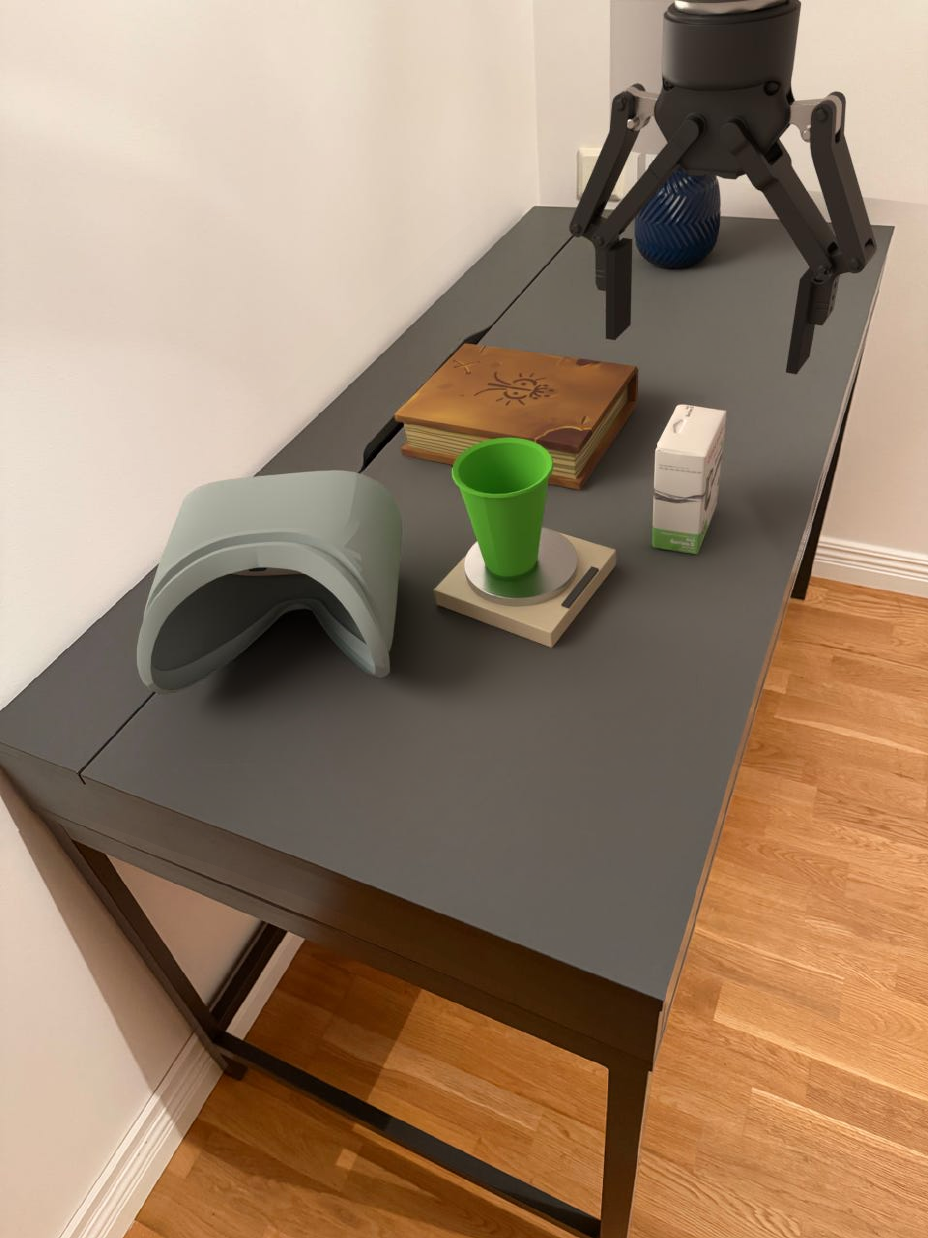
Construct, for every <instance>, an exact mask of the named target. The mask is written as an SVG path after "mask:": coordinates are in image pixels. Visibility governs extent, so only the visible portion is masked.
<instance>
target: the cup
mask: <svg viewBox="0 0 928 1238" xmlns="http://www.w3.org/2000/svg"><path fill="white" fill-rule="evenodd" d="M553 466H554V464H553V459H552V457H551V456H550V454H549V453H548V451H547V450H546V449H545V448H543V447H542V446H541V445H539V444H537V443H535V442H532V441H529V440H525V439H520V438H497V439H492V440H487V441H484V442H481V443H478V444H475V445H474V446H472V447H470V448H468V449H466V450H465V451H464V452H463V453H461V454H460V455H459V457H458V458H457V459H456V460H455V462H454V465H452V467H451V468H452V469H451V477H452V480H453V482H454V483H455V485H456V486H458V488H459V490H460V493H461V496H462V499H463V502H464V506H465V508H466V511H467V514H468V518H469V520H470V524H471V527H472V530H473V532H474V533H473V534H474V535H475V538H476V542H478V545H479V548H480V551H481V554H482V557H483V560H484V562H485V564H486V566H487V567H488V568H489V569H490V570H491V571H492V572H493V573H495V574H497V575H500V576H507V577H509V576H518V575H521V574H524V573H526V572H527V571H529V570H530V569H531V568H532V567H533V566H534V564H535V562H536V561H537V558H538V552H539V545H540V537H541V529H542V527H543V522H544V521H543V520H544V513H545V506H546V499H547V493H548V492H547V491H548V485H549V484H548V478H549V476H550V475H551V473H552V471H553Z"/></svg>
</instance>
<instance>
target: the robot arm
mask: <svg viewBox="0 0 928 1238" xmlns="http://www.w3.org/2000/svg"><path fill="white" fill-rule="evenodd" d="M801 7H802V2H801V1H800V0H675V2H674V3H672V4H671V5H670V6H669V7H668V9H667V11H666V12H665V13H664V17H663V42H662V68H661V73H662V89H661V92H660V94H656V93H650V92H646V91H645V88H644V87H643V86H642V85H641V84H639V83H636V84H634V85H632V86H630V87H629V88H627V89H625V90H624V91H622V92H621V93H619V94H618V95H616V96H615V97H614V99H613V101H612V109H611V119H610V118H609V130H608V134H607V136H606V138H605V140H604V143H603V145H602V147H601V150H600V152H599V155H598V157H597V159H596V161H595V164H594V166H593V169H592V171H591V174H590V176H589V178H588V180H587V183H586V185H585V188H584V189H583V192H582V194H581V196H580V198H579V201H578V204H577V206H576V208H575V211H574V213H573V215H572V217H571V220H570V222H569V225H568V229H569V232H570V234H571V235H572V236H573V237H574V238H581V237H583V238H585V239H586V240H588V241H590V242H591V243H592V245H593V247H594V259H595V260H594V265H595V267H594V268H595V271H594V274H595V278H594V279H595V281H594V282H595V286H596V288H597V291H603V292H605V339H606V340H610V341H616V340H617V339H618V338H619V337H620V336H621V335H623V333H624V332H625V331H627V329H629V327H630V326H631V325H632V287H633V286H632V284H633V283H632V281H633V280H632V279H633V277H632V276H633V238H628V237H622V238H621V239H620V236H621V235H622V234H623V233H624V232H626V229H627V228H628V227H629V226H630V224H631V223H632V222H633V221H634V220H635V217H636V216H637V215H638V214H639V212H640V211H641V210H642V209H643V208H644V207H645V205H646V204H647V203H648V202H649V201H650V200H651V198H652V197H653V196H654V195H655V194H656V193H657V191H658V190H659V189H660V188H661V187H662V186H663V184H664V183H665V182H666V181H667V180H668V179H669V177H670V176H671V175H672V174H673V173H674V172H675V170H676V169H677V168H678V167H679V166H680V165H681V167H682V168H684V169H685V170H686V171H688V172H689V175H690V176H704V175H709V174H714V175H716V176H717V177H719V178H722V179H724V180H735V181H736V180H737V179H738V178H740V177H742V176H745V175H746V177H747V179H748V180H749V181H750V183H751V185H752V186H753V188H754V189H756V191H758V192H759V191H760V192H761V193H762V194H763V196H764V198H765V199H766V201H767V202H768V204H769V206H770V207H771V209H772V210H773V212H774V213H775V215H776V216H777V219H778V220H779V222H780V223H781V225H782V226H783V228H784V229H785V231H786V233H787V234H788V236H789V237H790V239H791V240H792V242H793V243H794V245H795V247H796V249H797V250H798V251H799V253H800V254H801V256H802V258H803V259H804V261H805V262H806V264H807V266H808V268H807V269H806V271H805V272H804V273H803V275H802V276H801V277H800V278H799V282H798V289H797V293H796V294H797V296H796V302H795V308H794V314H793V322H792V327H791V335H790V341H789V348H788V355H787V360H786V366H785V367H786V368H785V374H791V375H798V373H799V372H800V370H802V368H803V367H804V365H805V364H806V362H807V361H808V360H809V358H810V356H811V351H812V346H813V340H814V335H815V334H814V333H815V327H816V325H817V326H823V325H824V324H825V323H826V322H827V320H828V319H829V317H830V316H831V314H833V311H834V309H835V305H836V298H837V292H838V287H839V282H840V276H841V275H842V274H847V273H850V274H859V273H861V272H862V271H864V269H865V268H866V267H867V265H868V264H869V263H870V261H871V260H872V258H873V257H874V255H875V254H876V252H877V250H878V246H877V245H878V244H877V242H876V239H875V234H874V232H873V229H872V225H871V222H870V218H869V214H868V210H867V207H866V204H865V201H864V198H863V194H862V191H861V187H860V183H859V180H858V177H857V174H856V170H855V167H854V163H853V160H852V156H851V154H850V149H849V146H848V143H847V139H846V136H845V122H846V107H847V101H846V100H847V99H846V96H845V94H843V93H842V92H841V91H839V90H838V91H837V90H835V91H832V92H830V93H829V94H828V95H827V96H825V97H823V98H815V99H813V98H812V99H800V100H796V99H795V96H794V93H793V89H792V77H793V72H794V66H795V65H794V64H795V57H796V50H797V42H798V41H797V39H798V33H799V25H800V17H801V9H802V8H801ZM651 116H654V118H655V121H656V123H657V125H658V127H659V128H660V130H661V132H662V134H663V136H664V137H665V139H666V141H667V144H666V145H665V147H664V148H663V149H662V150H661V151H660V153H659V154H658V155H655V158H654V159H653V160H652V161H651V162H650V163H649V165H648V166H647V169H646V170H645V171H644V172H643V173H642V175H641V176H640V177H639V178H638V180H637V181H636V182H635V184H634V185H633V186H632V187H631V188H630V190H628V192H627V193H626V194H625V196H624V197H623V198H622V199H621V201H620V202H619V203H618V204H617V205H616V207H615V208H614V209H613V210H612V211H611V212H610V214H609V215H608V216H607V217H604V216H603V214H604V211H605V209H606V207H607V205H608V202H609V200H610V199H611V196H612V194H613V192H614V189H615V187H616V185H617V183H618V181H619V179H620V176H621V174H622V172H623V170H624V168H625V165H626V163H627V161H628V159H629V157H630V154H631V152H632V151H631V150H632V148H633V146H634V144H635V141H636V139H637V137H638V135H639V132H640V129H642V128H643V127H644V126H646V125H647V124H648V123H649V121H650V118H651ZM791 125H794V126H795V127H797V128H798V131H799V133H800V134H799V135H800V138H801V139H802V140H803V141H804V142H805V143H809V146H810V147H809V149H810V156H811V161H812V164H813V168H814V172H815V175H816V177H817V181H818V184H819V187H820V190H821V193H822V196H823V201H824V202H825V207H826V209H827V212H828V213H827V214H828V216H829V220H830V222H831V226H832V228H831V226H830V225H829V224H828V222H827V219H825V217H824V216H823V214H822V213H821V211H820V209H819V207H818V206H817V204H816V203H815V200H813V198H812V196H811V195H810V193H809V191H808V190H807V188H806V187H805V185H804V183H803V182H802V180H801V178H800V177H799V175H798V174H797V172H796V170H795V168H794V167H793V163H792V162H793V161H792V157H791V155H790V154H789V151H788V150H787V148H786V147H785V146H784V144H783V142H782V141H781V139H780V138H781V137H782V136H783V135H784V133H785V132H786V131H787V130H788V128H789V127H790V126H791ZM832 229H833V230H832Z"/></svg>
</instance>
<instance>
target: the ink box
mask: <svg viewBox="0 0 928 1238" xmlns="http://www.w3.org/2000/svg"><path fill="white" fill-rule="evenodd" d="M726 419H727V410H723V409H716V408H708V407H704V406H703V407H702V406H697V405H689V404H678V405H676V406H675V409H674V411H673V413H672V414H671V417H670V418H669V421H668V422H667V424H666V426H665V428H664V430H663V432H662V434H661V436H660V438H659V440H658V442H656V443H657V444H656V445H657V446H656V448H655V450H654V451H655V452H654V472H653V473H654V475H653V476H654V477H653V501H652V502H653V504H652V506H653V507H652V530H651V546H652V547H653V548H656V549H660V550H661V549H662V550H667V551H668V550H669V551H674V552H679V553H685V554H692V555H698V554H699V552H700V549H701V546H702V544H703V542H704V540H705V539H704V538H705V537H706V533H707V531H708V528H709V526H710V523H711V521H712V518H713V515H714V513H715V510H716V507H717V502H718V495H719V486H720V478H721V468H722V459H723V449H724V442H725V441H724V440H725V431H726V430H725V429H726Z"/></svg>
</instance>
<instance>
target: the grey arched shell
mask: <svg viewBox="0 0 928 1238" xmlns="http://www.w3.org/2000/svg"><path fill="white" fill-rule="evenodd" d="M402 536H403V520H402V516H401V512H400V509H399V506H398V503H397V502H396V500H395V498H394V496H393V495H392V493H391V492H390V491H389V489H387V487H386V486H384V485H383V484H382V483H380V482H379V481H378V480H376V479H374V478H372V477H370V476H368V475H365V474H362V473H360V472H355V471H351V470H339V469H338V470H337V469H336V470H333V469H331V470H315V471H314V470H313V471H299V472H290V473H281V474H280V473H279V474H268V475H267V474H266V475H259V476H258V475H257V476H256V475H255V476H247V477H238V478H230V479H223V480H216V481H214V482H208V483H206V484H203V485H200V486H198V487H196V488H195V489H193V490H192V491H190V492H189V493H188V494H187V495H186V496H185V497H184V498H183V499H182V502H181V505H180V508H179V509H178V513H177V516H176V518H175V520H174V523H173V526H172V528H171V531H170V534H169V537H168V539H167V542H166V545H165V547H164V550H163V552H162V555H161V558H160V560H159V563H158V566H157V568H156V572H155V574H154V578H153V581H152V584H151V587H150V590H149V594H148V597H147V600H146V603H145V607H144V612H143V621H142V624H141V628H140V630H139V634H138V640H137V646H136V665H137V670H138V675H139V677H140V679H141V680H142V683H143V684H144V685H145V686H146V687H147V688H148V689H149V690H150V691H152V692H153V693H156V694H158V695H171V694H175V693H177V692H178V693H179V692H181V691H183V690H186V689H188V688H190V687H192V686H194V685H197V683H200V682H201V681H203V680H206V679H207V678H209V676H211V675H213V674H215V673H216V672H218V671H219V670H220V669H222V668H224V667H225V666H226V665H227V664H229V663H230V662H232V661H233V660H234V659H236V658H237V657H238V656H240V654H242V653H243V652H244V651H246V650H247V649H248V648H249V647H250V646H251V645H252V644H253V643H255V642H256V641H257V640H258V639H259V638H260V637H261V636H262V635H263V634H264V633H265V632H266V631H268V629H270V628H271V626H272V625H273V624H275V622H276V621H277V620H278V619H279V618H281V617H282V616H283V615H284V614H286V613H288V612H291V611H295V610H309V611H312V613H313V615H314V616H315V618H316V619H317V621H318V623H319V624H320V626H321V627H322V629H323V631H324V632H325V633H326V634H327V635H328V637H329V638H330V639H331V641H332V642H333V643H334V644H335V645H336V647H338V649H340V651H342V652H343V654H344V655H345V656H346V657H347V658H348V659H349V660H351V662H353V663H354V664H355V665H356V666H357V667H359V669H361V670H363V671H364V672H365V673H366V674H369V675H371V676H373V677H377V678H381V679H384V678H385V677H386V676H388V675H389V674H390V673H391V665H390V664H391V663H390V654H389V653H390V651H391V649H392V644H393V639H394V632H395V631H394V630H395V622H396V613H397V603H398V592H399V591H398V590H399V576H400V563H401V562H400V561H401V551H402V539H403V538H402Z"/></svg>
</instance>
